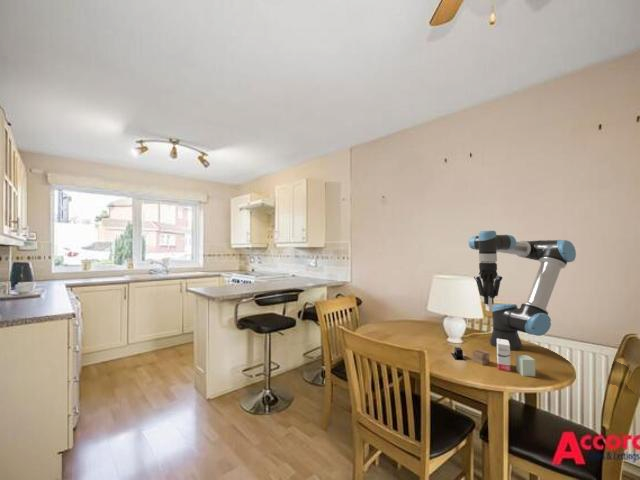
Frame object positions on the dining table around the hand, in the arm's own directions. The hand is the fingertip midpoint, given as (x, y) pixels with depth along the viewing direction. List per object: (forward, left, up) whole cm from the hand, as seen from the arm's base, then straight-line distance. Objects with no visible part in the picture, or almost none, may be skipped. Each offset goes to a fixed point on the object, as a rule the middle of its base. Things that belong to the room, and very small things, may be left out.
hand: (489, 310), depth 139 cm
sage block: (-7, +14, -25) cm, 29 cm away
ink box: (-2, +7, -25) cm, 26 cm away
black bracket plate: (+12, -7, -25) cm, 29 cm away
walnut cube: (+5, +1, -25) cm, 25 cm away
